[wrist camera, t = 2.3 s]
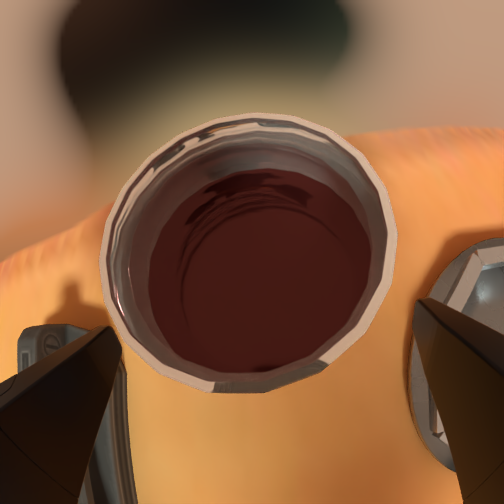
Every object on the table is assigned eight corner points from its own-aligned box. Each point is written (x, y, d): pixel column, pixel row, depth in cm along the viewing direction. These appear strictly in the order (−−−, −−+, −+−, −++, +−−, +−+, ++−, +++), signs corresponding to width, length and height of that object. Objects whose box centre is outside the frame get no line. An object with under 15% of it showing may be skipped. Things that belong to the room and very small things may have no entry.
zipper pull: (59, 610, 4) (-21, 316, 14) (101, 585, 10) (41, 334, 20) (159, 650, 3) (56, 299, 13) (191, 608, 9) (123, 323, 19)
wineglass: (336, 383, 15) (394, 412, 4) (217, 369, 17) (71, 356, 6) (345, 267, 18) (383, 114, 7) (234, 260, 19) (143, 122, 8)
